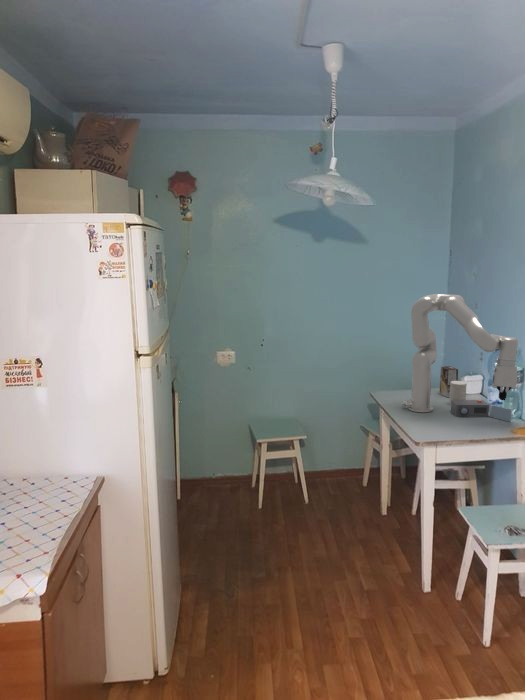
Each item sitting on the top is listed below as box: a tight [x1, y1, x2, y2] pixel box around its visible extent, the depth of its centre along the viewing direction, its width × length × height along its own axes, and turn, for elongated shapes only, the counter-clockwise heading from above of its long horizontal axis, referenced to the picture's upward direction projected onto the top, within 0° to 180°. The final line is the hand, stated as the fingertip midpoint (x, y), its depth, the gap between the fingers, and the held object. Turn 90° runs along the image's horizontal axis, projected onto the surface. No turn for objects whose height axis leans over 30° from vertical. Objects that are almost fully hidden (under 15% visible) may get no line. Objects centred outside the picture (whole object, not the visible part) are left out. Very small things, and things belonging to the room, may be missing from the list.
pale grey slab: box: [489, 403, 513, 422], centre depth 258 cm, size 10×2×6 cm, turn 38°
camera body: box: [450, 399, 490, 417], centre depth 267 cm, size 16×11×7 cm, turn 86°
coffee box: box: [439, 365, 459, 398], centre depth 301 cm, size 9×6×16 cm
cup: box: [449, 380, 467, 406], centre depth 284 cm, size 8×8×12 cm
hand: (502, 399), depth 253 cm, fingers closed
